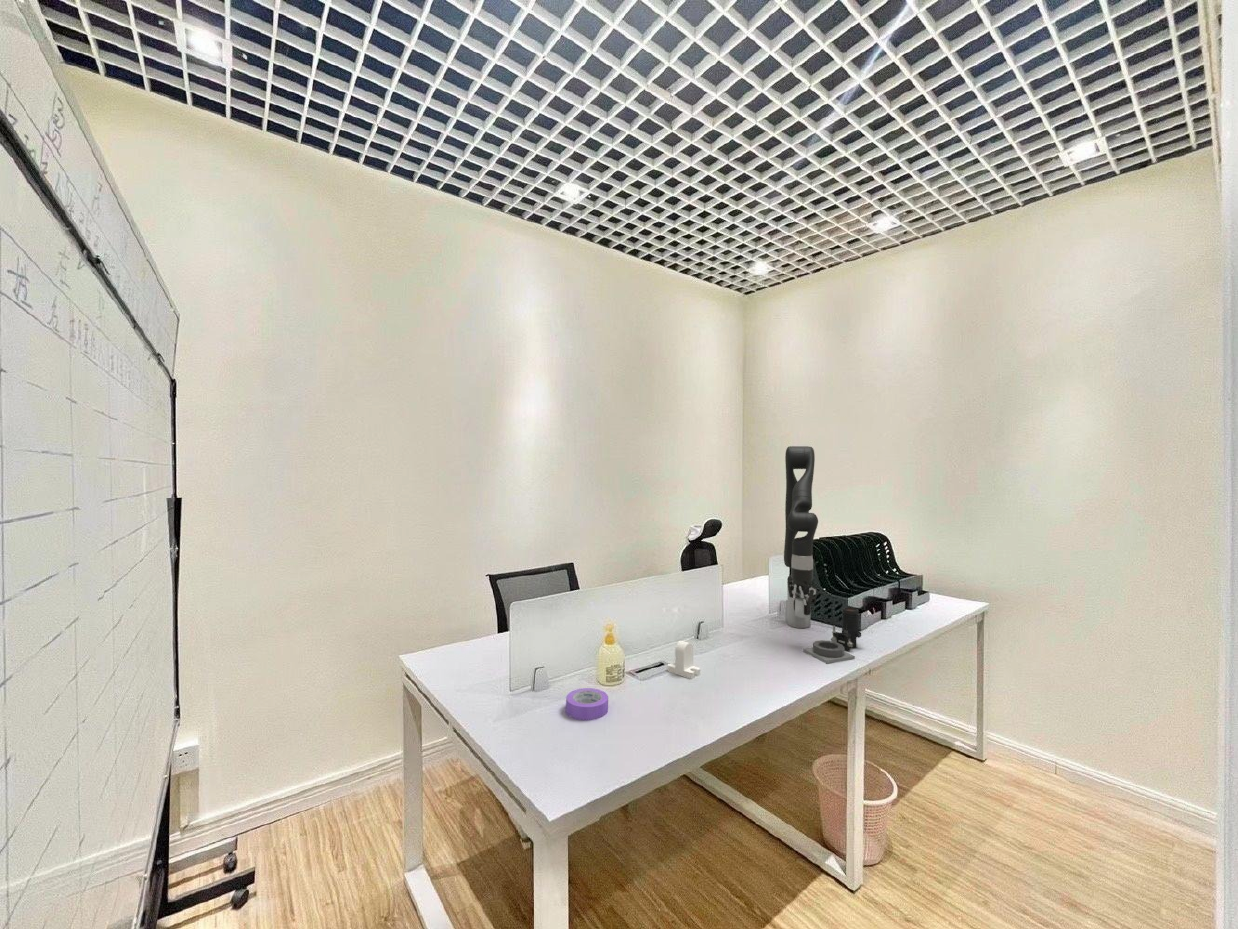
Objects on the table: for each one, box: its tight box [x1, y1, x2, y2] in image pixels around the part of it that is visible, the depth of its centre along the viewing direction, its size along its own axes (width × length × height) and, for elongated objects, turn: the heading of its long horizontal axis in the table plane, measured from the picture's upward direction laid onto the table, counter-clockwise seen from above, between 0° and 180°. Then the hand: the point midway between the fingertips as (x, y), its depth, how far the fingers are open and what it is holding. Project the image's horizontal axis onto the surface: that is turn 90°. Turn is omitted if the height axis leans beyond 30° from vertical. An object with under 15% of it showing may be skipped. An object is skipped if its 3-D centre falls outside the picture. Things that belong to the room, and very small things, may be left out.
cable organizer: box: [667, 640, 701, 680], centre depth 170 cm, size 5×10×10 cm, turn 47°
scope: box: [830, 606, 862, 652], centre depth 193 cm, size 8×14×10 cm
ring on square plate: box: [802, 639, 856, 665], centre depth 185 cm, size 12×12×4 cm
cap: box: [795, 597, 809, 618], centre depth 192 cm, size 5×5×6 cm
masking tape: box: [565, 687, 609, 721], centre depth 145 cm, size 12×12×4 cm
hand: (801, 612), depth 192 cm, fingers closed on cap, 4 cm apart
